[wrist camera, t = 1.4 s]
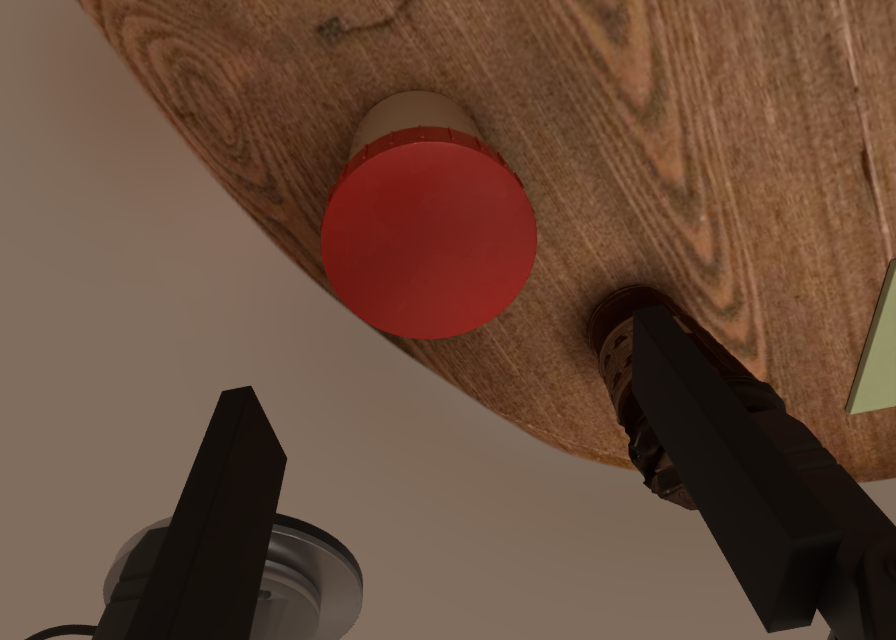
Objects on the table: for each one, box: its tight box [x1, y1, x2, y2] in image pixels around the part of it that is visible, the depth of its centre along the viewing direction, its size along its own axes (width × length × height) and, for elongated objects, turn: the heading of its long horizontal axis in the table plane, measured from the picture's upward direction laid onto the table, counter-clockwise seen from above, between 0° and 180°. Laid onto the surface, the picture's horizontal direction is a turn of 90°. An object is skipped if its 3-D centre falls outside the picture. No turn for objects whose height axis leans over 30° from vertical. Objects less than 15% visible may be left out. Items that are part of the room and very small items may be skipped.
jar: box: [347, 91, 487, 163], centre depth 26 cm, size 8×8×11 cm
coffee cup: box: [588, 285, 786, 510], centre depth 33 cm, size 9×8×13 cm
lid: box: [320, 125, 537, 339], centre depth 22 cm, size 8×8×2 cm
